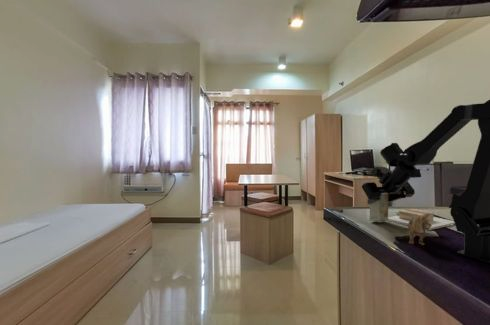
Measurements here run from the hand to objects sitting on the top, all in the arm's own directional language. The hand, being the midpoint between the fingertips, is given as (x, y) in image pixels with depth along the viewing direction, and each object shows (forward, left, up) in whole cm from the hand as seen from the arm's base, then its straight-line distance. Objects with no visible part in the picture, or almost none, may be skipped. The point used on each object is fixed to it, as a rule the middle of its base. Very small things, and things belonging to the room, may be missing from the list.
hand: (376, 202), depth 102 cm
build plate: (+14, -8, -7) cm, 18 cm away
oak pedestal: (+13, -7, -7) cm, 16 cm away
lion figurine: (-9, -22, -7) cm, 24 cm away
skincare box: (0, -1, -7) cm, 7 cm away
